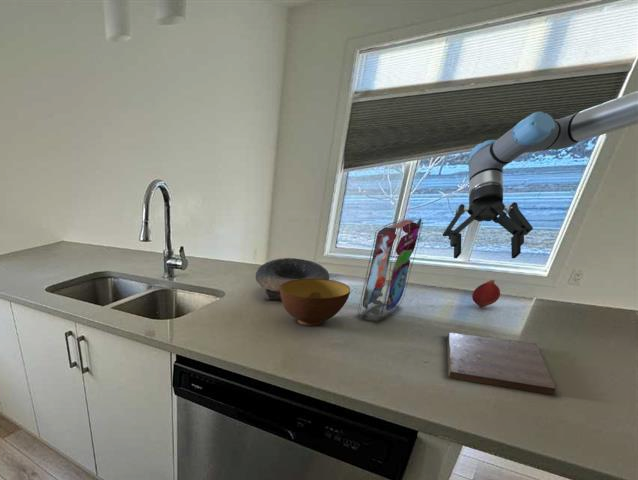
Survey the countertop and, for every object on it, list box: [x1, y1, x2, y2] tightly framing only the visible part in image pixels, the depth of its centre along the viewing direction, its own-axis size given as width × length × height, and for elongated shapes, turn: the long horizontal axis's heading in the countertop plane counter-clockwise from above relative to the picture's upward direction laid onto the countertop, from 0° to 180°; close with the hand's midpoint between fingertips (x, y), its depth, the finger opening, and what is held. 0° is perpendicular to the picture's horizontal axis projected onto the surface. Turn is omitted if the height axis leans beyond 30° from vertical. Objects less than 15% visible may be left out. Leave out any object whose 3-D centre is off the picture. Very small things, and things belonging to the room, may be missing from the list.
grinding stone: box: [255, 257, 330, 301], centre depth 135 cm, size 23×25×10 cm
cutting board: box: [446, 332, 557, 396], centre depth 88 cm, size 22×16×2 cm
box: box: [357, 218, 424, 323], centre depth 113 cm, size 25×6×24 cm, turn 131°
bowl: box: [280, 279, 351, 327], centre depth 113 cm, size 18×18×10 cm
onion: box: [471, 279, 501, 309], centre depth 112 cm, size 6×6×8 cm
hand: (486, 255), depth 114 cm, fingers open, 13 cm apart
